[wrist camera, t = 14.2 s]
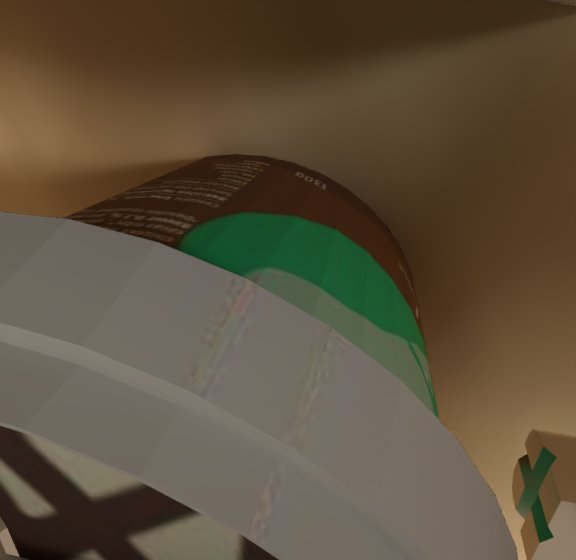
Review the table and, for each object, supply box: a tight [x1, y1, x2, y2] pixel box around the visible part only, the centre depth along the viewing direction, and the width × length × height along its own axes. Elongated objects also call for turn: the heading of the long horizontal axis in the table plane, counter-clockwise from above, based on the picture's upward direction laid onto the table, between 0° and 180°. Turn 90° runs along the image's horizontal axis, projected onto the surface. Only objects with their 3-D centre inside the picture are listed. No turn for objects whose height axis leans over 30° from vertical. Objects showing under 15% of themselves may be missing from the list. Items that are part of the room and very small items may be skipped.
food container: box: [0, 154, 518, 560], centre depth 10 cm, size 12×6×10 cm, turn 12°
